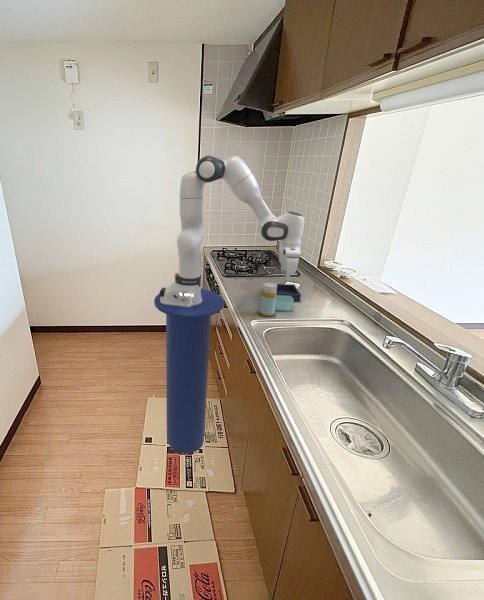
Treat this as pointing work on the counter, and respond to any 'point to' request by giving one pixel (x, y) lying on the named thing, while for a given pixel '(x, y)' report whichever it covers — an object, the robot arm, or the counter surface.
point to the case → (284, 303)
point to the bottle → (268, 299)
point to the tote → (288, 291)
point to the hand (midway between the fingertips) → (284, 276)
